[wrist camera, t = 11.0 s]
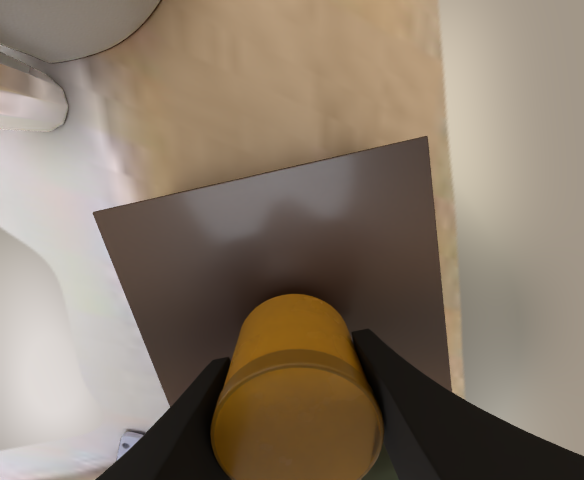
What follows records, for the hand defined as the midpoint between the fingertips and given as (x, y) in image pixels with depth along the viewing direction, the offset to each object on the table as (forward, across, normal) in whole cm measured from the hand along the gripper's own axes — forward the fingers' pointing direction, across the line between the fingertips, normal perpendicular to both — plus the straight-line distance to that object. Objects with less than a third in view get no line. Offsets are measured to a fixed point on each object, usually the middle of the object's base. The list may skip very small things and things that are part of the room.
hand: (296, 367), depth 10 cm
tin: (+1, 0, 0) cm, 1 cm away
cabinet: (+10, 0, 0) cm, 10 cm away
